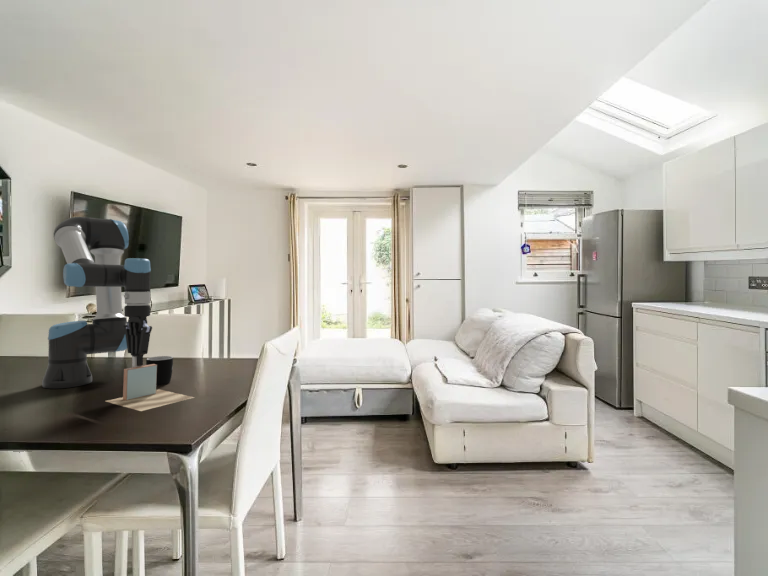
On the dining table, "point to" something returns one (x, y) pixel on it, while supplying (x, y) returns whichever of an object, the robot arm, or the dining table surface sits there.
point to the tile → (139, 381)
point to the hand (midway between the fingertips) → (137, 375)
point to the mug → (162, 368)
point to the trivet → (151, 400)
